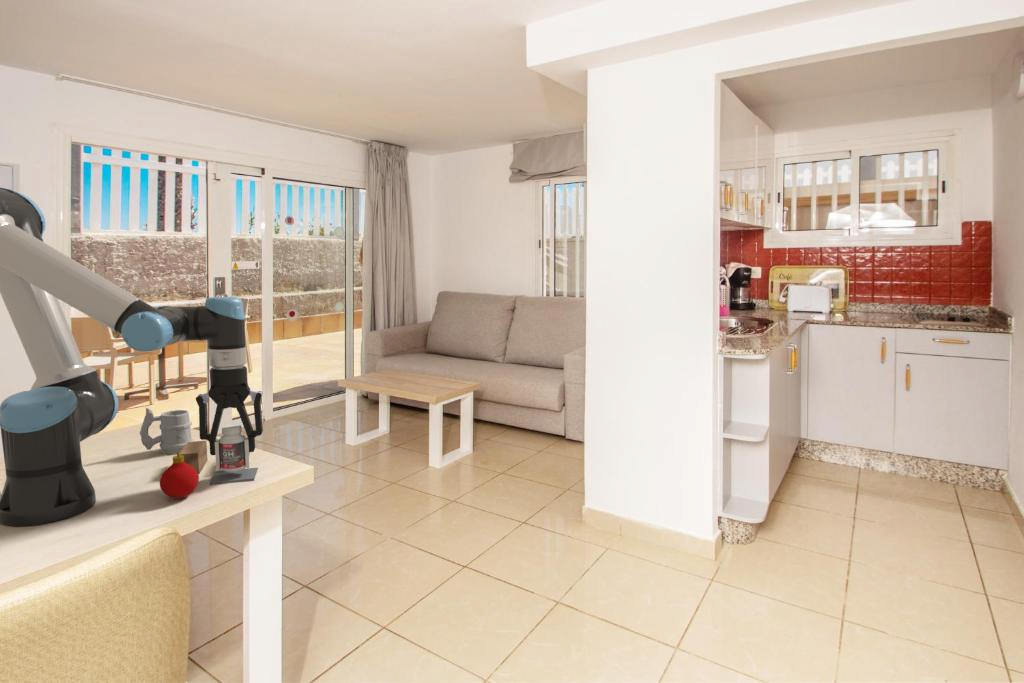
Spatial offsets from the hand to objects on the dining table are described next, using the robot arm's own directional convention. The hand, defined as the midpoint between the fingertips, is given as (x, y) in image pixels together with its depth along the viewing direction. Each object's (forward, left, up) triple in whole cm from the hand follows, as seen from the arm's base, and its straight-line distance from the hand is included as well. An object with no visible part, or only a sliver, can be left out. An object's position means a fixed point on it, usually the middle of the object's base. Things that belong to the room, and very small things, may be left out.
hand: (233, 466), depth 135 cm
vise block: (-4, +9, -2) cm, 10 cm away
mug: (-19, +25, -2) cm, 31 cm away
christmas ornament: (-9, -10, -2) cm, 14 cm away
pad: (0, 0, -2) cm, 2 cm away
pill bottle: (0, 0, -1) cm, 1 cm away
